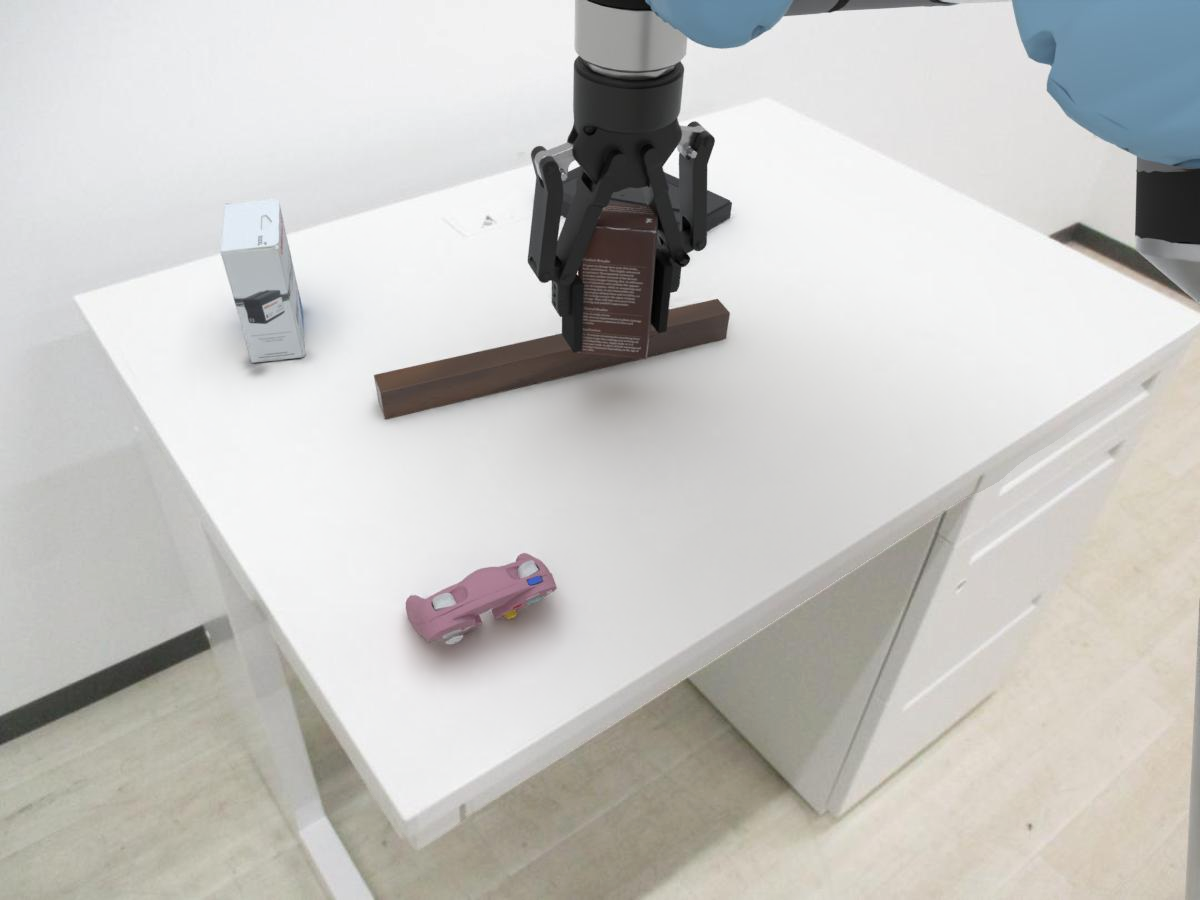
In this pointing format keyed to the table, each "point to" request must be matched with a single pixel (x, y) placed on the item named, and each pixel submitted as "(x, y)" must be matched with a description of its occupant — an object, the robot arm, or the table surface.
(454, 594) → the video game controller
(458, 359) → the straight edge
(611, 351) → the box
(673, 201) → the picture frame
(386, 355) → the table surface
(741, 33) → the robot arm
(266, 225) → the ink box
